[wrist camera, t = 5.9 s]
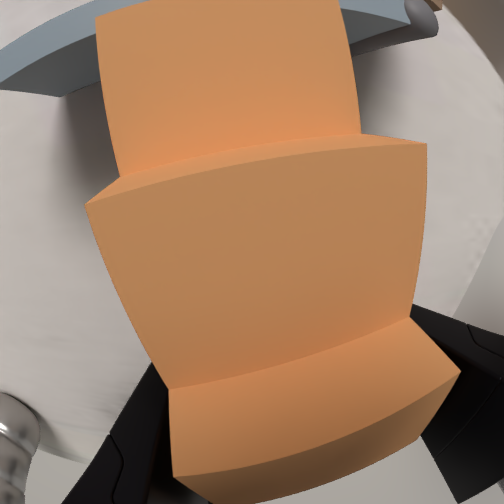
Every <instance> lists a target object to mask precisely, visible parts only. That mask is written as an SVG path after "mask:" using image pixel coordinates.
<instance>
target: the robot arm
mask: <svg viewBox="0 0 504 504" xmlns="http://www.w3.org/2000/svg"><path fill="white" fill-rule="evenodd" d="M409 317H410V318H411V319H412V320H413V321H414V322H415V323H416V324H417V325H418V326H419V327H420V328H421V329H422V330H423V331H424V332H425V333H426V334H427V335H428V336H429V337H430V338H431V339H432V340H433V341H434V343H435V344H436V345H437V346H438V347H439V348H440V349H441V350H442V351H443V352H444V353H445V354H446V355H447V356H448V357H449V359H450V360H451V361H452V362H453V363H454V364H455V365H456V366H457V367H458V368H459V370H460V371H461V372H460V374H459V376H458V378H457V379H456V381H455V383H454V385H453V386H452V388H451V390H450V392H449V393H448V395H447V396H446V398H445V400H444V401H443V403H442V404H441V406H440V407H439V409H438V411H437V412H436V414H435V415H434V416H433V418H432V419H431V421H430V422H429V424H428V425H427V426H426V428H425V429H424V431H423V432H422V433H421V435H420V436H421V437H422V439H423V441H424V443H425V444H426V446H427V448H428V450H429V451H430V453H431V455H432V457H433V458H434V461H435V462H436V464H437V466H438V468H439V470H440V472H441V473H442V475H443V477H444V479H445V481H446V483H447V485H448V487H449V488H450V490H451V492H452V494H453V496H454V498H455V500H456V502H457V503H458V504H460V503H462V502H464V501H466V500H467V499H469V498H471V497H473V496H475V495H477V494H479V493H480V492H482V491H484V490H485V489H487V488H489V487H490V486H492V485H494V484H495V483H498V485H499V487H500V488H501V490H502V491H503V493H504V336H503V335H499V334H496V333H493V332H489V331H486V330H483V329H480V328H478V327H475V326H472V325H470V324H466V323H464V322H461V321H459V320H456V319H453V318H450V317H448V316H445V315H442V314H439V313H437V312H434V311H431V310H428V309H426V308H423V307H420V306H417V305H415V304H412V307H411V311H410V316H409ZM61 504H213V503H211V502H210V501H208V500H206V499H205V498H203V497H202V496H200V495H199V494H197V493H196V492H194V491H193V490H191V489H190V488H188V487H187V486H185V485H184V484H182V483H181V482H180V481H178V480H177V479H175V478H174V477H173V468H172V455H171V440H170V420H169V389H168V388H167V386H166V385H165V383H164V381H163V380H162V378H161V376H160V375H159V373H158V371H157V370H156V368H155V366H154V364H153V363H152V362H151V364H150V365H149V367H148V368H147V370H146V372H145V373H144V375H143V377H142V378H141V380H140V382H139V383H138V385H137V386H136V388H135V390H134V391H133V393H132V395H131V396H130V398H129V400H128V401H127V403H126V405H125V406H124V408H123V410H122V412H121V413H120V415H119V417H118V418H117V420H116V422H115V423H114V425H113V427H112V429H111V430H110V434H108V435H107V437H106V439H105V440H104V442H103V444H102V446H101V447H100V449H99V450H98V452H97V454H96V455H95V457H94V459H93V460H92V462H91V463H90V465H89V466H88V468H87V469H86V471H85V472H84V473H83V475H82V476H81V477H80V479H79V480H78V482H77V483H76V484H75V486H74V487H73V488H72V490H71V491H70V492H69V494H68V495H67V497H66V498H65V499H64V501H63V502H62V503H61Z"/></svg>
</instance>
